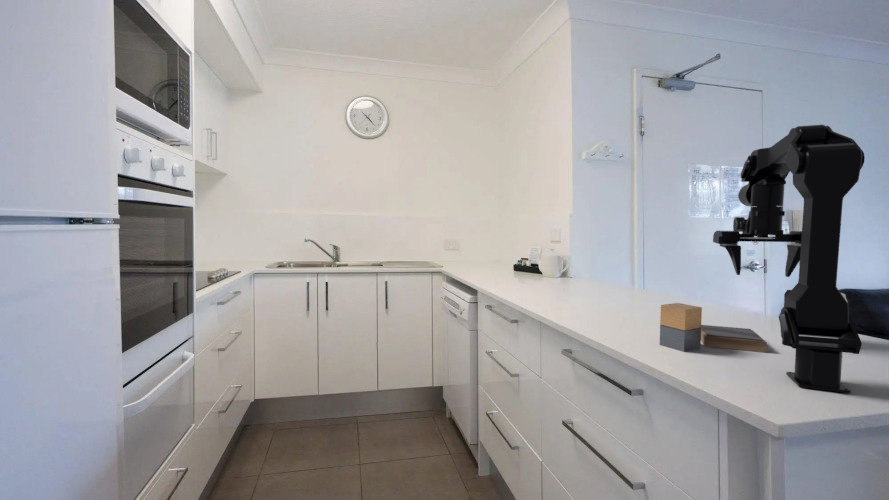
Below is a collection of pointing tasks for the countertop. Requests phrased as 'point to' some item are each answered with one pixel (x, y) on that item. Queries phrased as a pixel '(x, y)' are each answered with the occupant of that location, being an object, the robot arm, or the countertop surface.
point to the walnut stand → (732, 338)
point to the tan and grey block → (680, 326)
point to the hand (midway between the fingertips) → (762, 275)
